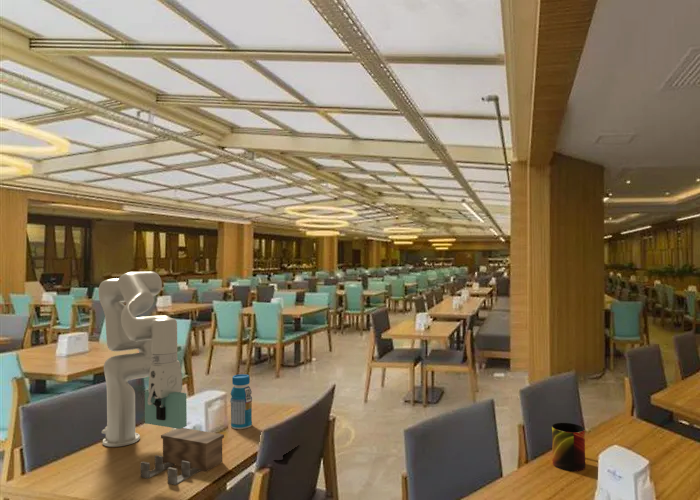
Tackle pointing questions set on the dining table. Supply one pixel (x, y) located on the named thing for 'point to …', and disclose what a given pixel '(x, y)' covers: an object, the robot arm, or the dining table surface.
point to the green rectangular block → (168, 411)
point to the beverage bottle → (241, 402)
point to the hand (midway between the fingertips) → (165, 417)
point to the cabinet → (186, 454)
